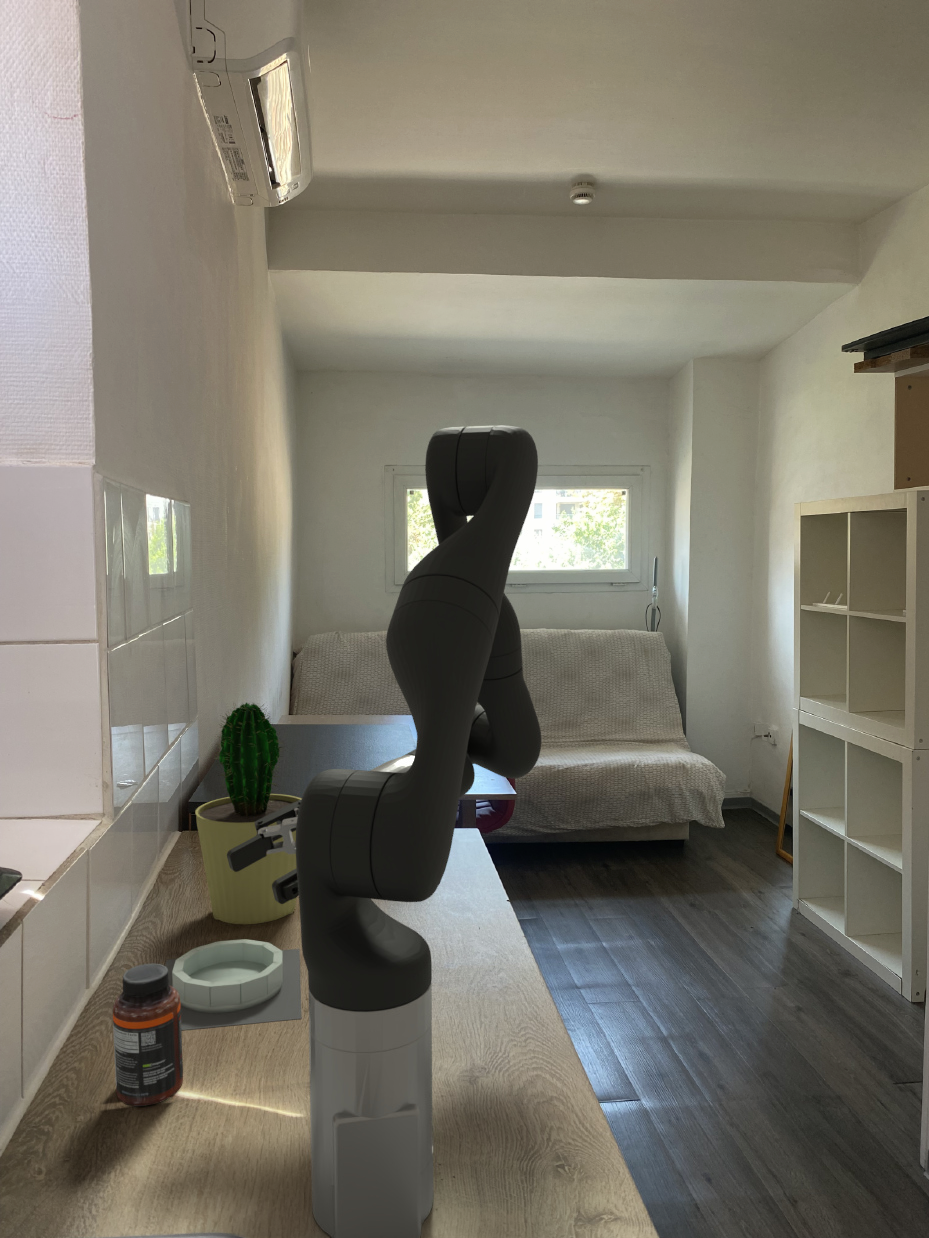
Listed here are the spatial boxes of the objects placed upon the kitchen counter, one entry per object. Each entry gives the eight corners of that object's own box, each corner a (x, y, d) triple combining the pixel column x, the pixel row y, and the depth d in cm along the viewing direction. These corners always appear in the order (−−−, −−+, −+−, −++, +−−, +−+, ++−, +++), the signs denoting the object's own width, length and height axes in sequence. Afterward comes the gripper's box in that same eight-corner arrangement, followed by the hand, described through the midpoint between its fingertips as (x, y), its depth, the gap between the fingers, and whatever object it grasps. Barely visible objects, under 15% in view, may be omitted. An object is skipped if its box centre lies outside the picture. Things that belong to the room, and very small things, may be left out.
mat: (301, 1022, 98) (301, 1018, 98) (143, 1037, 95) (143, 1033, 95) (299, 951, 115) (299, 948, 115) (166, 962, 112) (166, 959, 112)
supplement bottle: (160, 1065, 89) (157, 952, 89) (196, 1087, 86) (193, 969, 85) (102, 1093, 85) (99, 973, 84) (138, 1117, 81) (134, 993, 80)
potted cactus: (321, 922, 125) (318, 703, 123) (203, 940, 119) (198, 710, 117) (298, 885, 139) (295, 688, 137) (192, 899, 133) (187, 694, 131)
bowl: (282, 1006, 100) (281, 980, 100) (167, 1017, 98) (167, 990, 98) (283, 960, 112) (282, 936, 112) (180, 968, 110) (180, 944, 110)
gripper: (340, 753, 100) (207, 820, 90) (423, 789, 90) (283, 869, 80) (353, 813, 103) (224, 885, 93) (435, 855, 92) (300, 941, 82)
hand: (251, 878), depth 86 cm, fingers open, 8 cm apart
